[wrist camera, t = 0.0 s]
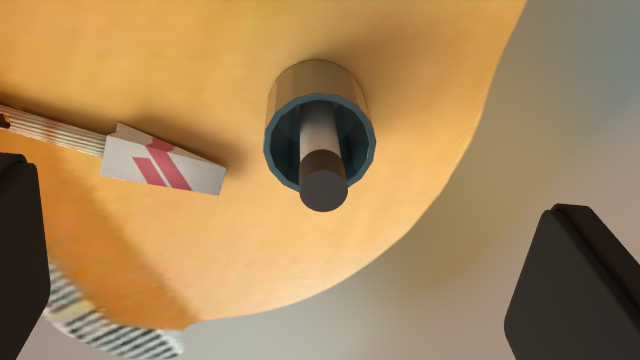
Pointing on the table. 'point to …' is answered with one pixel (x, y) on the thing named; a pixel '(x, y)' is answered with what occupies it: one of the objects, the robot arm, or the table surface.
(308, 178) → the marker
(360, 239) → the table surface
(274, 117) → the pen holder
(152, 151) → the paintbrush
